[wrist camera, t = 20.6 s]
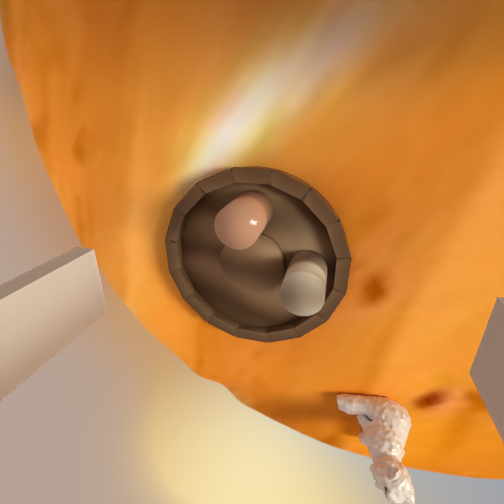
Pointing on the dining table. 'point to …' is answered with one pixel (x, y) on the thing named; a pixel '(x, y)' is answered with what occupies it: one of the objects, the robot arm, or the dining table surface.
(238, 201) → the pinkish brown egg
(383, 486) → the seated beast figurine
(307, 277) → the cream bead
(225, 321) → the groove tray
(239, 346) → the dining table surface
